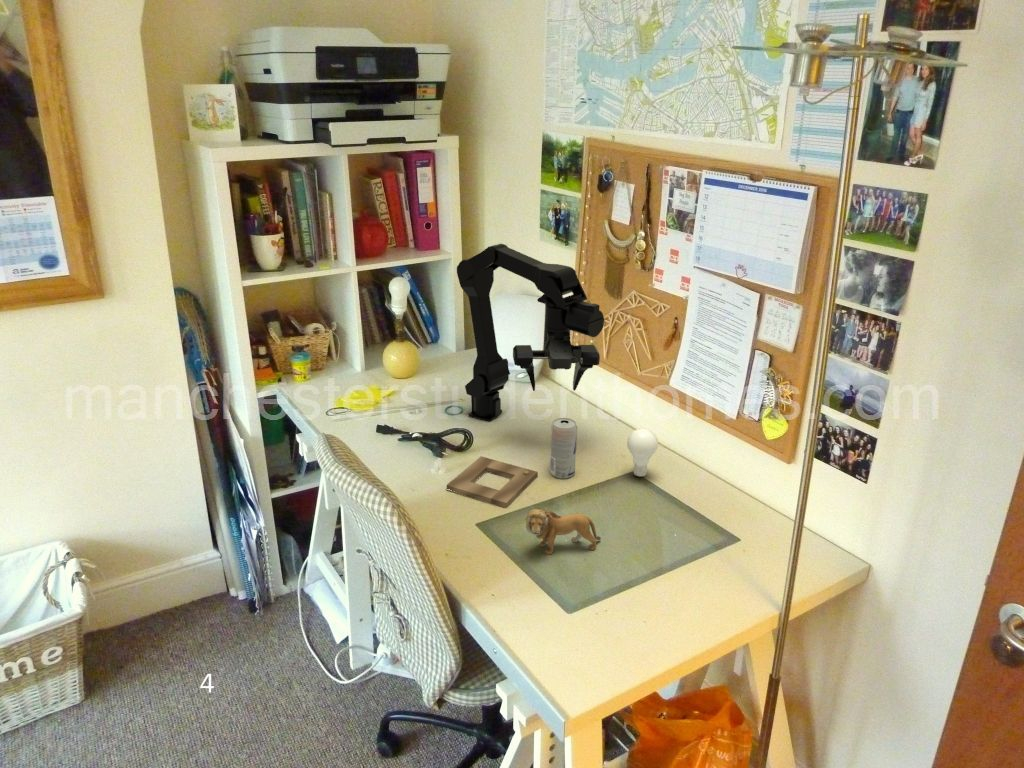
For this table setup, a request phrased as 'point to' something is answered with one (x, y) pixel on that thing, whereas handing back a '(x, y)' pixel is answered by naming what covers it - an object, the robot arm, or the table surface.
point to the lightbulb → (642, 449)
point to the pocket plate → (497, 497)
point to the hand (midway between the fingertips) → (553, 390)
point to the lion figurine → (559, 527)
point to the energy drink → (563, 448)
